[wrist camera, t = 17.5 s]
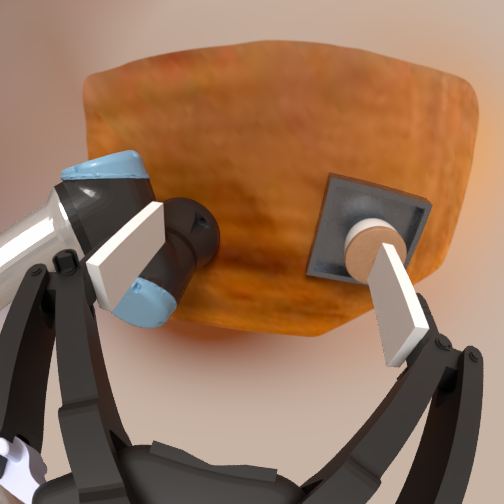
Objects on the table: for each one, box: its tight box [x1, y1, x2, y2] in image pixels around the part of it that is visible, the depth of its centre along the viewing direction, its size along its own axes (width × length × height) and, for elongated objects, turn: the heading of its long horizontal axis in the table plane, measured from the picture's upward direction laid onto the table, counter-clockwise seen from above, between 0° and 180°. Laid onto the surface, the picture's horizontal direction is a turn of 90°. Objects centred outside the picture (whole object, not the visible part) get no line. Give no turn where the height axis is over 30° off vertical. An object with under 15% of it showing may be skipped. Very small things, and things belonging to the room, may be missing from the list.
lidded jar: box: [344, 218, 407, 284], centre depth 43 cm, size 11×11×9 cm
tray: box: [306, 173, 432, 286], centre depth 46 cm, size 19×19×3 cm
